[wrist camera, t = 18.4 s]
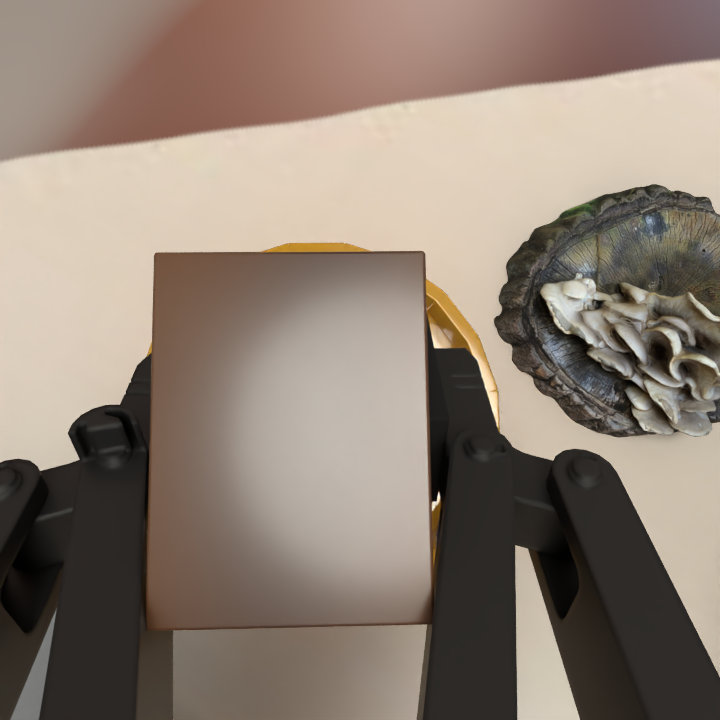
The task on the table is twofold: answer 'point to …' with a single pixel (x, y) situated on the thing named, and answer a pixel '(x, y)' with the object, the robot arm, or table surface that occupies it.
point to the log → (622, 312)
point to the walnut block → (289, 441)
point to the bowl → (444, 328)
